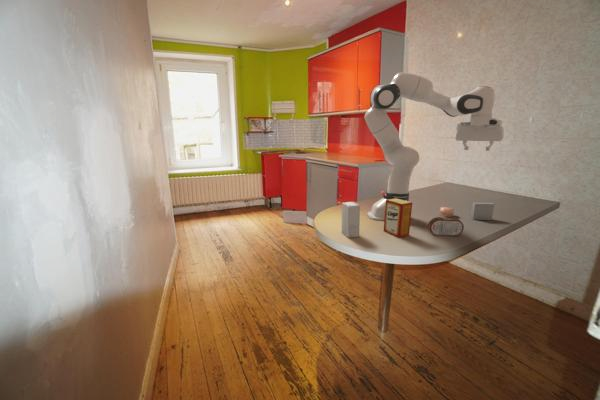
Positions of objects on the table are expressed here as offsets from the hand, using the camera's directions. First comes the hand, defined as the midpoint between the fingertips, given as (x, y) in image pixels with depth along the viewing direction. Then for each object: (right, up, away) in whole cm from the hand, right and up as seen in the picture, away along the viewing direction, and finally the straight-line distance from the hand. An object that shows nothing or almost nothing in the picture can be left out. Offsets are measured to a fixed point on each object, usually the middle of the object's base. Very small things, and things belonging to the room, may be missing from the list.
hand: (476, 150), depth 142 cm
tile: (+10, -36, +13) cm, 39 cm away
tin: (-22, -42, -11) cm, 49 cm away
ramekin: (-5, -34, +20) cm, 40 cm away
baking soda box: (-44, -41, -9) cm, 61 cm away
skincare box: (-66, -41, -11) cm, 79 cm away
